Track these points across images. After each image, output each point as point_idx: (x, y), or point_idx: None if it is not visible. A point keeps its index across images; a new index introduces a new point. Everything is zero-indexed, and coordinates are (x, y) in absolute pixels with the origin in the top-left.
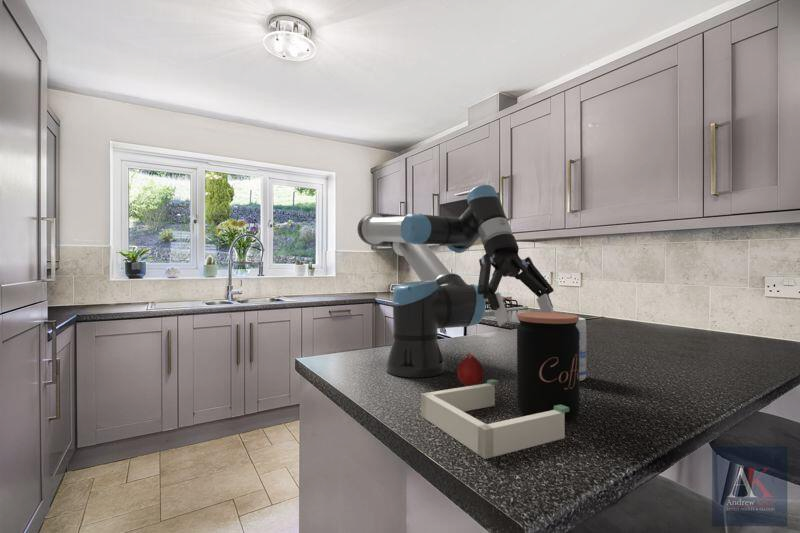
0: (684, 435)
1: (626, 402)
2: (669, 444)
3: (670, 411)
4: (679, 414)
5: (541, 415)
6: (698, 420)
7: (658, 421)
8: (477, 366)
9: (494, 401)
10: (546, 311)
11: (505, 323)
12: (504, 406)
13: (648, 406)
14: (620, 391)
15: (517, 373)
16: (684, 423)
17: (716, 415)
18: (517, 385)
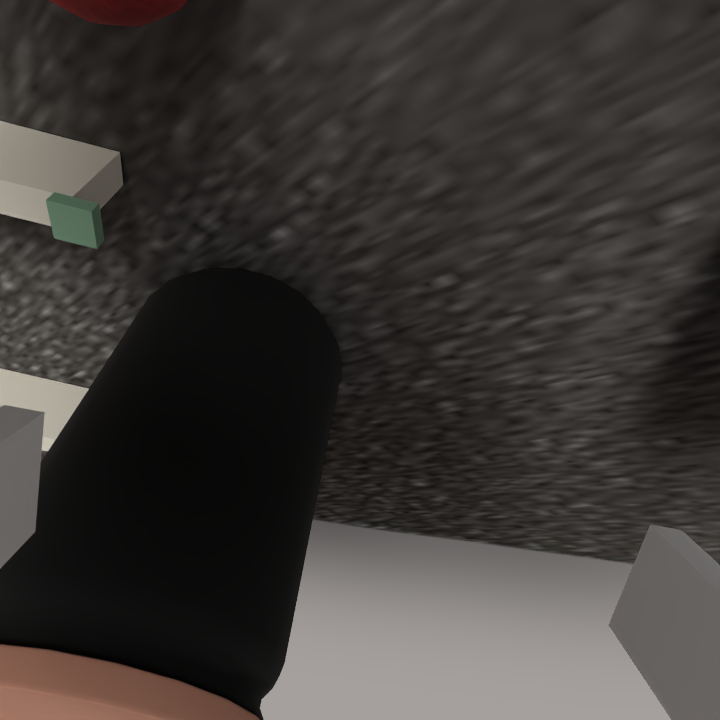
0: (384, 527)
1: (553, 442)
2: (313, 517)
3: (541, 506)
4: (528, 517)
5: (47, 445)
6: (508, 536)
7: (435, 499)
8: (81, 13)
9: (112, 194)
10: (709, 680)
11: (31, 477)
12: (158, 215)
13: (551, 477)
14: (697, 411)
15: (108, 370)
16: (463, 524)
17: (577, 552)
18: (132, 333)
